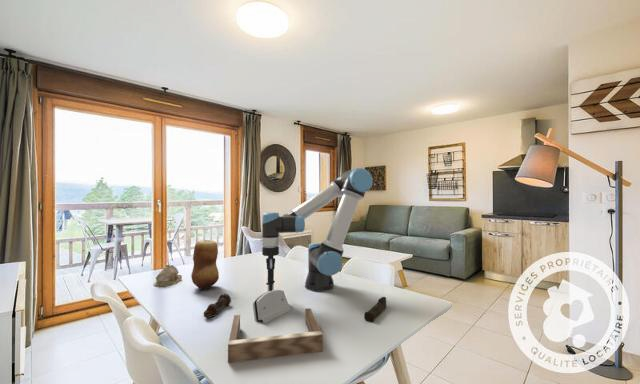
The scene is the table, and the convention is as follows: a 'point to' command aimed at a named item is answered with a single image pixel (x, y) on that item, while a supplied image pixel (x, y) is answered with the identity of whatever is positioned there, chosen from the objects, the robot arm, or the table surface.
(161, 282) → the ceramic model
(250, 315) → the table surface
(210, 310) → the bolt
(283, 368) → the table surface
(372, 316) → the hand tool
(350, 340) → the table surface
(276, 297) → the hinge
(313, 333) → the frame
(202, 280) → the butternut squash
